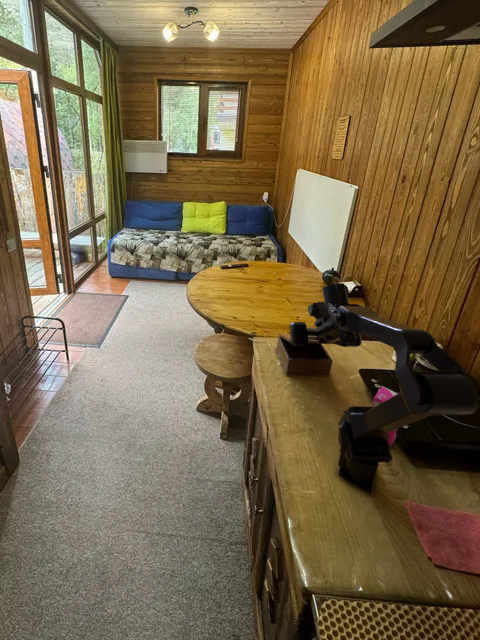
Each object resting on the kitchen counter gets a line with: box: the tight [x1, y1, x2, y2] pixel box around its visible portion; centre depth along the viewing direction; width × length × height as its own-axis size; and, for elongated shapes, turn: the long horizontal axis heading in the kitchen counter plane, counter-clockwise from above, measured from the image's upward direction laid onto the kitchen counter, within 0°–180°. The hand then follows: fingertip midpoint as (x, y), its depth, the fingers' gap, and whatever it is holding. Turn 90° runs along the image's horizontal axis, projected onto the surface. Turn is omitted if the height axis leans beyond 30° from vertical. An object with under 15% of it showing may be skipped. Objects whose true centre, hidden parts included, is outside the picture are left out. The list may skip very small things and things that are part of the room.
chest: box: [276, 335, 334, 377], centre depth 102 cm, size 13×14×6 cm
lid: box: [278, 326, 319, 343], centre depth 100 cm, size 13×14×4 cm
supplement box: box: [371, 385, 398, 448], centre depth 76 cm, size 6×6×12 cm
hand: (313, 339), depth 93 cm, fingers open, 9 cm apart
